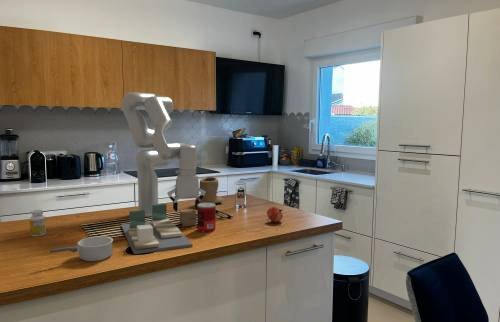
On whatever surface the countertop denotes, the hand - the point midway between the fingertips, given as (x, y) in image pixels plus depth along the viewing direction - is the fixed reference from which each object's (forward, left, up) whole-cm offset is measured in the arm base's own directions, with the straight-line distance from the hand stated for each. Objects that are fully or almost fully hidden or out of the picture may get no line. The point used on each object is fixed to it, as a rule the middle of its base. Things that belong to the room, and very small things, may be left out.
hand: (186, 210), depth 176 cm
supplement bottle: (-7, -59, -7) cm, 60 cm away
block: (+24, -22, -4) cm, 33 cm away
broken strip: (+18, -22, -5) cm, 29 cm away
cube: (+1, 0, -7) cm, 7 cm away
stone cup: (-34, +24, -7) cm, 42 cm away
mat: (+12, -17, -6) cm, 22 cm away
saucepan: (+29, -44, -7) cm, 53 cm away
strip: (+8, -11, -5) cm, 15 cm away
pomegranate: (+12, +39, -7) cm, 41 cm away
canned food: (+12, +6, -7) cm, 15 cm away
